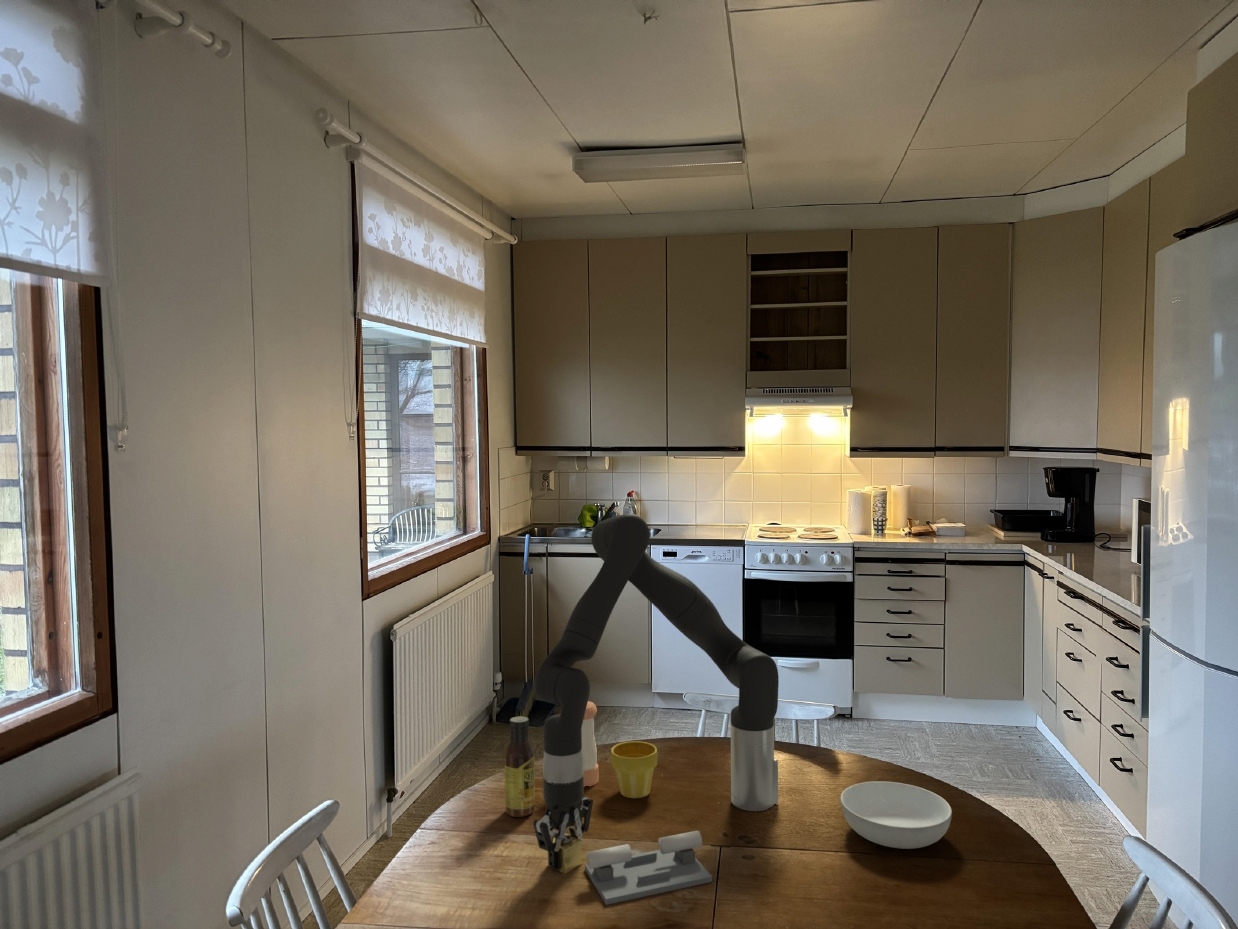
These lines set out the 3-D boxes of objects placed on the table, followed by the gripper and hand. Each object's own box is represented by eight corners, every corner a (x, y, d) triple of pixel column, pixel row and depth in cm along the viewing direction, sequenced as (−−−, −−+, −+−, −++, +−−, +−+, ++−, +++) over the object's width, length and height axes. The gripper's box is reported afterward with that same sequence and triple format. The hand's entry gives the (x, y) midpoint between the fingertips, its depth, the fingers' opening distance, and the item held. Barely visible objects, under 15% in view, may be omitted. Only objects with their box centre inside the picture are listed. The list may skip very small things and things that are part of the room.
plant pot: (612, 782, 188) (611, 740, 188) (657, 782, 188) (656, 740, 187) (610, 802, 178) (609, 758, 177) (658, 802, 178) (657, 758, 177)
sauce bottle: (529, 820, 170) (528, 726, 169) (501, 817, 172) (499, 724, 171) (539, 806, 177) (537, 715, 176) (511, 803, 178) (509, 713, 177)
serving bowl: (968, 834, 162) (968, 799, 162) (925, 876, 147) (925, 839, 147) (869, 802, 177) (869, 771, 176) (820, 838, 161) (820, 804, 161)
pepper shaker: (598, 787, 186) (596, 703, 185) (565, 787, 186) (564, 704, 185) (599, 773, 193) (598, 693, 192) (568, 774, 193) (567, 693, 192)
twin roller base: (688, 849, 158) (687, 819, 157) (715, 880, 146) (715, 849, 146) (581, 870, 150) (580, 839, 150) (601, 905, 139) (601, 872, 139)
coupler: (564, 856, 156) (564, 829, 156) (582, 863, 153) (581, 837, 153) (547, 865, 152) (547, 838, 152) (565, 874, 149) (564, 846, 149)
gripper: (575, 756, 160) (576, 841, 160) (521, 780, 149) (522, 872, 150) (604, 765, 155) (605, 854, 156) (550, 791, 144) (551, 886, 145)
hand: (564, 862), depth 153 cm, fingers closed on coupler, 4 cm apart
